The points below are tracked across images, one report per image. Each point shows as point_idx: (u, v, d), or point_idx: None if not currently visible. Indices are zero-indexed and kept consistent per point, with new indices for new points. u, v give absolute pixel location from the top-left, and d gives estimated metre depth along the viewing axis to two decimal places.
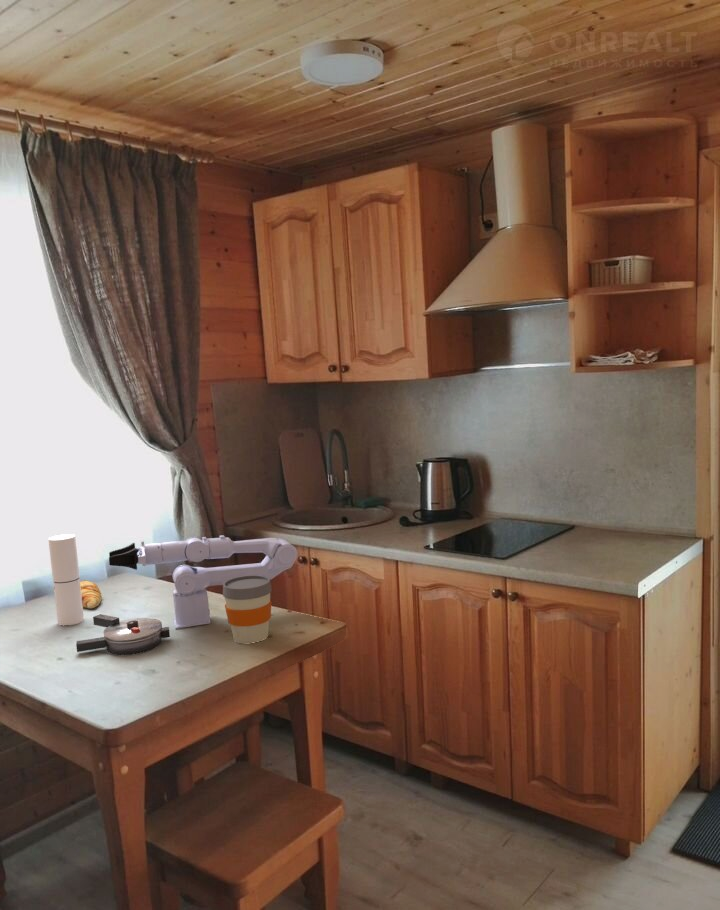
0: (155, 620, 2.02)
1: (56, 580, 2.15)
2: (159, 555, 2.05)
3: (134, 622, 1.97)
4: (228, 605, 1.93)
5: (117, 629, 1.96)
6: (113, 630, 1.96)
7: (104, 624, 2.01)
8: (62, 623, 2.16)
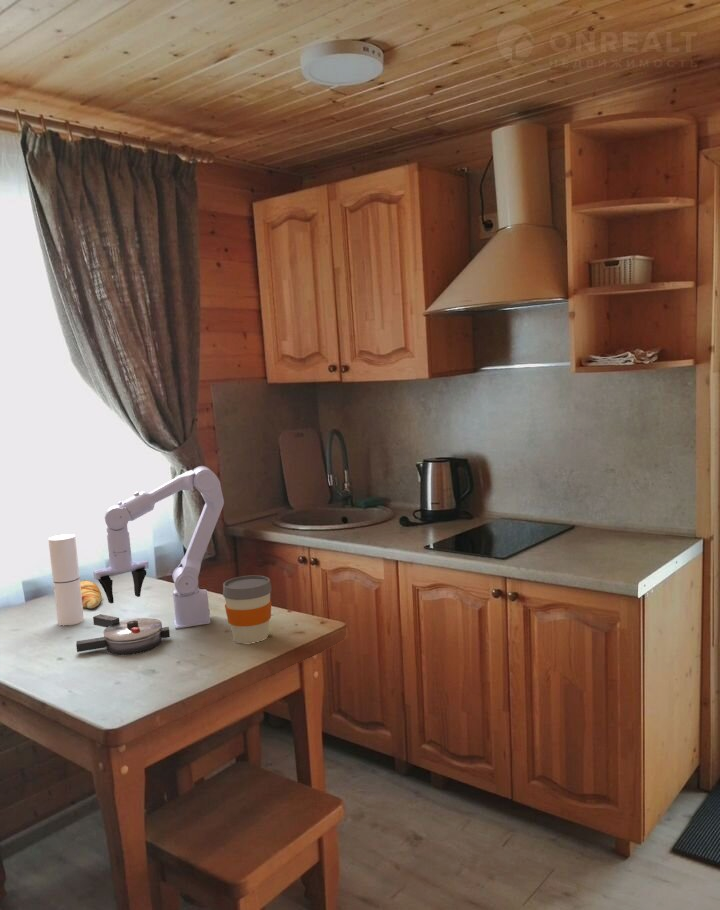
0: (155, 620, 2.02)
1: (56, 580, 2.15)
2: (109, 554, 2.03)
3: (134, 622, 1.97)
4: (228, 605, 1.93)
5: (117, 629, 1.96)
6: (113, 630, 1.96)
7: (104, 624, 2.01)
8: (62, 623, 2.16)
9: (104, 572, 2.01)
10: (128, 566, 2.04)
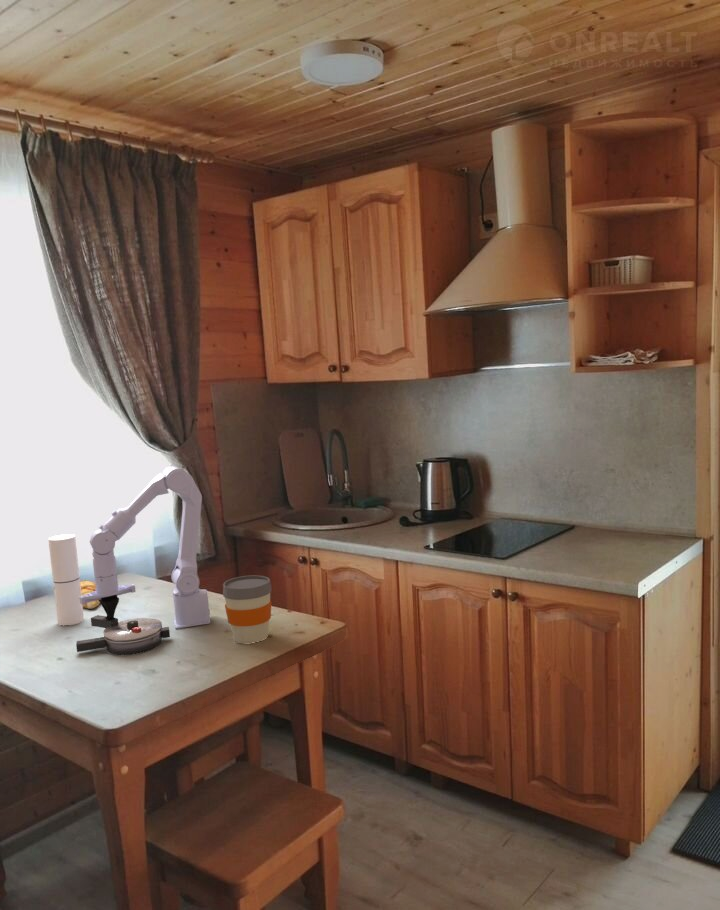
0: (154, 620, 2.02)
1: (56, 580, 2.15)
2: (95, 579, 2.01)
3: (134, 622, 1.97)
4: (228, 605, 1.93)
5: (117, 629, 1.96)
6: (113, 630, 1.96)
7: (102, 625, 2.01)
8: (62, 623, 2.16)
9: (90, 597, 1.99)
10: (114, 590, 2.02)
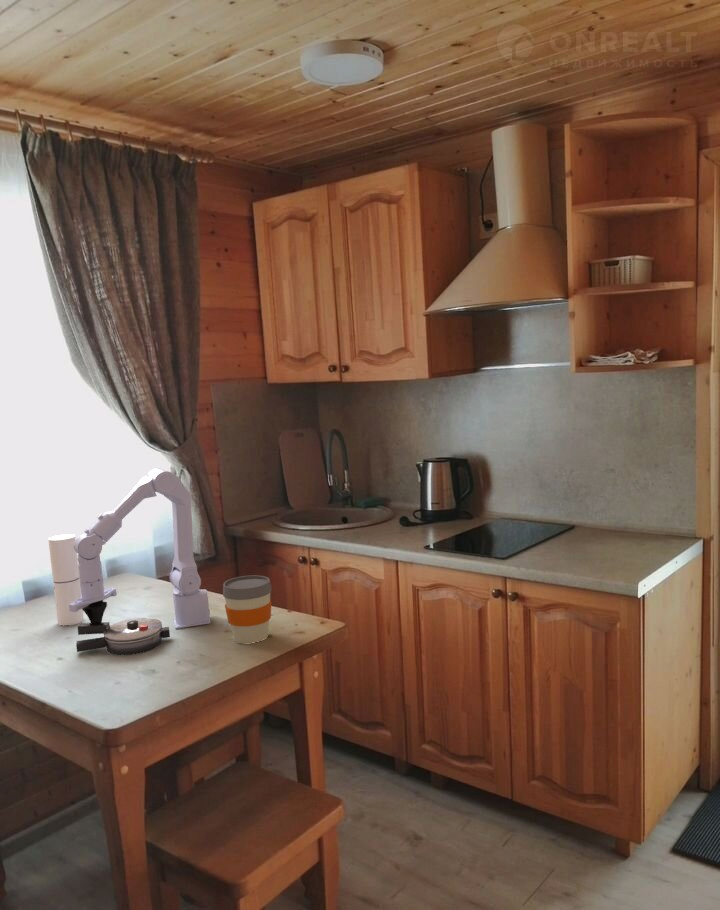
0: (145, 618, 2.03)
1: (56, 580, 2.15)
2: (83, 585, 1.96)
3: (134, 622, 1.97)
4: (228, 605, 1.93)
5: (118, 631, 1.94)
6: (115, 633, 1.94)
7: (94, 631, 1.96)
8: (62, 623, 2.16)
9: (82, 603, 1.94)
10: (103, 595, 1.98)
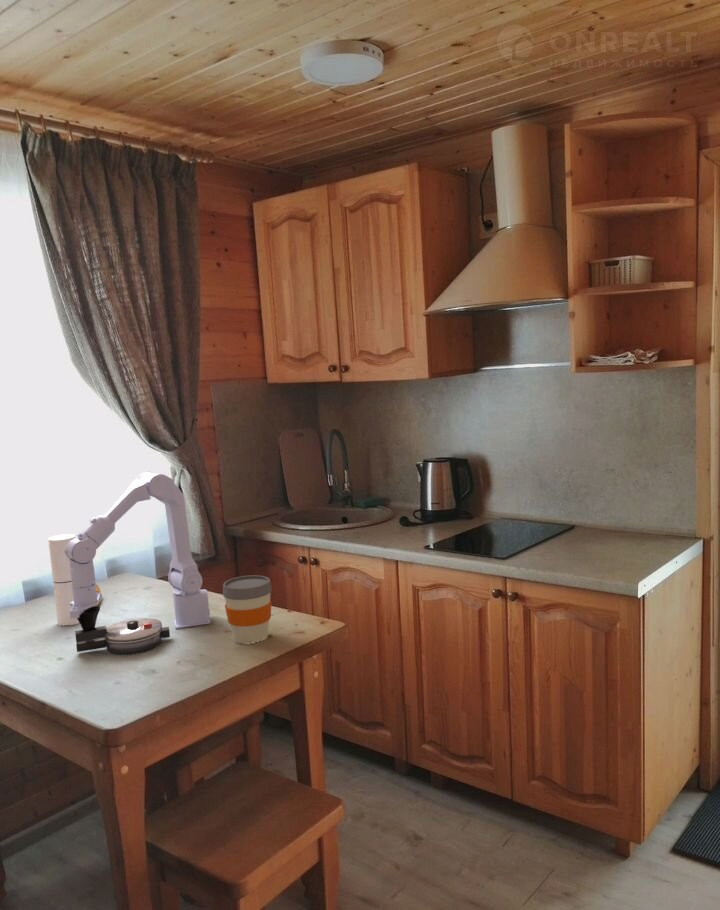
0: (135, 619, 2.03)
1: (56, 580, 2.15)
2: (79, 590, 1.91)
3: (134, 621, 1.97)
4: (228, 605, 1.93)
5: (122, 632, 1.93)
6: (120, 634, 1.92)
7: (94, 636, 1.92)
8: (62, 623, 2.16)
9: (82, 609, 1.89)
10: (97, 599, 1.95)
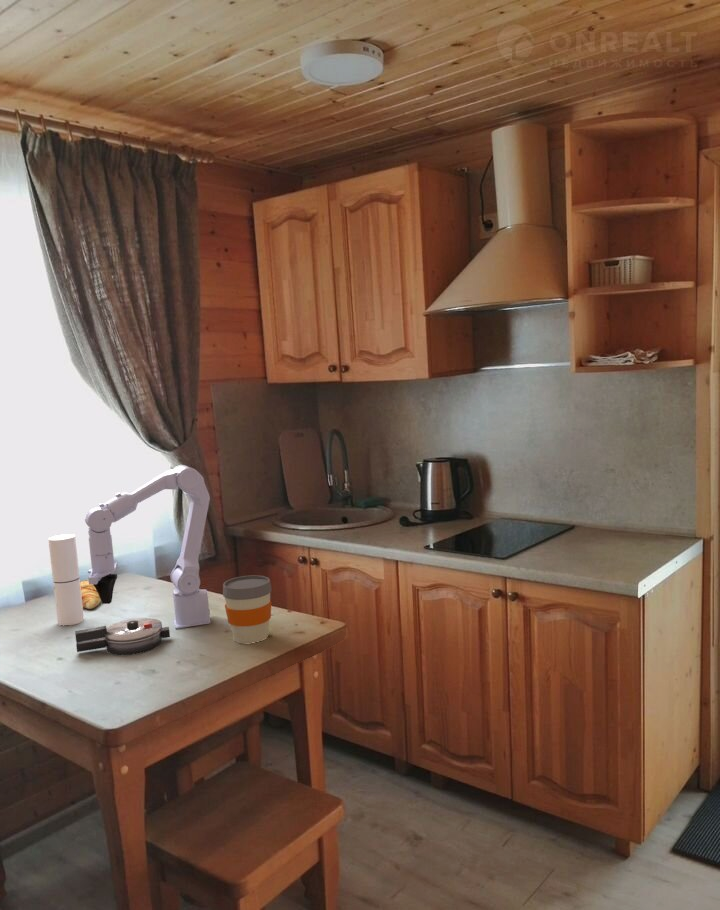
0: (135, 619, 2.03)
1: (56, 580, 2.15)
2: (97, 558, 1.98)
3: (134, 621, 1.97)
4: (228, 605, 1.93)
5: (122, 632, 1.93)
6: (120, 634, 1.92)
7: (94, 636, 1.92)
8: (62, 623, 2.16)
9: (100, 575, 1.96)
10: (114, 567, 2.02)
